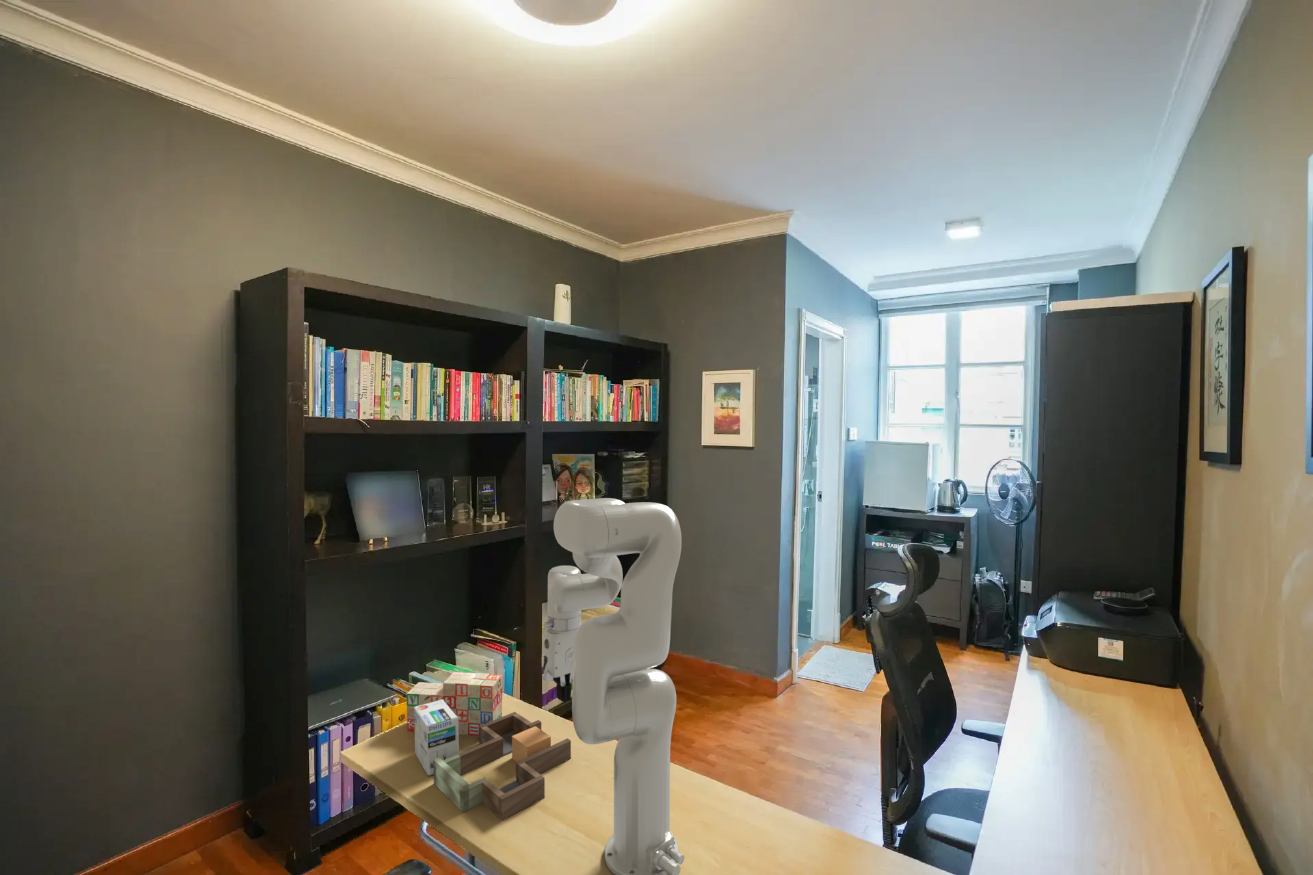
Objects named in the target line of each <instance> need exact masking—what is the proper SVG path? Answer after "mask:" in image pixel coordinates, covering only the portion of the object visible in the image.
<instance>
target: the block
mask: <svg viewBox="0 0 1313 875" xmlns="http://www.w3.org/2000/svg"><path fill="white" fill-rule="evenodd" d="M551 738H552V737H551V736H550V734H548V733H546V732H545V731H544V730H543V729H541V730H540V729H539V728H537V727H536V726H535V727H532V728H530V729H528V730H525V731H523V732H521V733H518V734H516V735H514V736H512V752H511V759H513V760H514V761H515V762H518V761H520V760H522V759H525V758H527V757H529V756H531V755H533V754H535V753H537V752H539V751H542V750H544V749H546V748H548V747H550V746H552V745H551V744H552V739H551Z"/></svg>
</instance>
